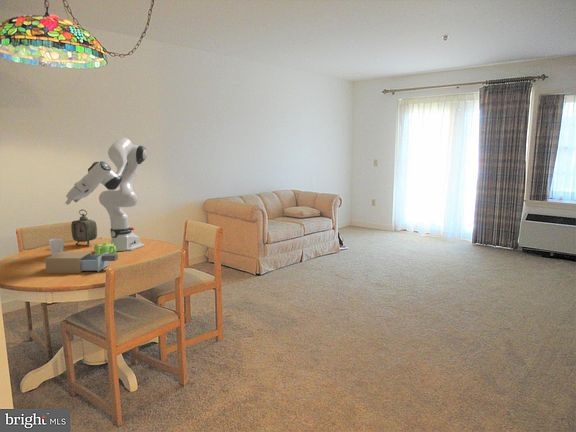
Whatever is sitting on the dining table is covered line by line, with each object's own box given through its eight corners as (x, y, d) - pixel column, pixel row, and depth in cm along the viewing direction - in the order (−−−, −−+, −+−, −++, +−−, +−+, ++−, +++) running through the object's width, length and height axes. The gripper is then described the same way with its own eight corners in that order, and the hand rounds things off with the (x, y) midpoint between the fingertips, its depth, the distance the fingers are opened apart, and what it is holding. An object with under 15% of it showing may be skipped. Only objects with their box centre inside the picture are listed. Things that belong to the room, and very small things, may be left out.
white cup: (63, 256, 250) (61, 240, 249) (48, 257, 248) (47, 241, 247) (66, 253, 258) (64, 237, 256) (52, 254, 256) (50, 238, 254)
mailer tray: (121, 264, 231) (120, 251, 230) (112, 271, 217) (111, 258, 216) (77, 264, 230) (75, 251, 229) (64, 271, 216) (63, 258, 215)
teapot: (117, 259, 244) (116, 243, 242) (96, 261, 238) (95, 245, 237) (114, 255, 254) (113, 239, 252) (94, 257, 248) (93, 241, 246)
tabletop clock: (72, 245, 278) (69, 209, 274) (83, 243, 286) (81, 208, 282) (88, 247, 273) (85, 211, 269) (99, 244, 281) (96, 209, 277)
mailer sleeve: (92, 265, 231) (91, 251, 229) (80, 272, 217) (79, 258, 215) (60, 265, 230) (58, 251, 229) (46, 272, 216) (45, 258, 215)
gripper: (91, 180, 239) (75, 196, 240) (74, 182, 219) (57, 200, 220) (99, 187, 240) (83, 204, 241) (83, 191, 219) (66, 208, 221)
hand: (71, 202), depth 230 cm, fingers open, 8 cm apart
